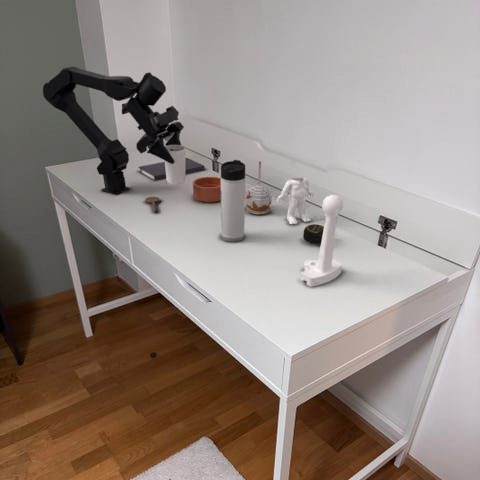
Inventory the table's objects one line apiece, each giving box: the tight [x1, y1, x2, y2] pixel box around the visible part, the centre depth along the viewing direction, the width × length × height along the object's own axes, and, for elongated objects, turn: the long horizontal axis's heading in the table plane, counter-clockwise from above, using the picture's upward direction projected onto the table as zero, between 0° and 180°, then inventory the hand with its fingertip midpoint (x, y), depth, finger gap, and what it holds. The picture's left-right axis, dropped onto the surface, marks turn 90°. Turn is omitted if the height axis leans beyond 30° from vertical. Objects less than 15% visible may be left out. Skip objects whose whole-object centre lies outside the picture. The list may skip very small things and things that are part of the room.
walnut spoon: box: [144, 196, 161, 214], centre depth 144 cm, size 12×4×1 cm, turn 15°
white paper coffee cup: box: [164, 144, 187, 185], centre depth 141 cm, size 7×7×10 cm
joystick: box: [300, 194, 344, 288], centre depth 105 cm, size 11×8×20 cm
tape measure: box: [302, 223, 324, 246], centre depth 125 cm, size 7×7×4 cm
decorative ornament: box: [245, 160, 273, 215], centre depth 139 cm, size 8×8×15 cm
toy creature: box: [276, 176, 314, 225], centre depth 134 cm, size 12×6×12 cm, turn 116°
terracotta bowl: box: [192, 176, 221, 203], centre depth 150 cm, size 11×11×5 cm
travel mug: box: [220, 159, 246, 243], centre depth 122 cm, size 6×7×20 cm
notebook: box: [138, 157, 205, 181], centre depth 173 cm, size 13×2×21 cm
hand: (179, 160), depth 140 cm, fingers closed on white paper coffee cup, 6 cm apart
